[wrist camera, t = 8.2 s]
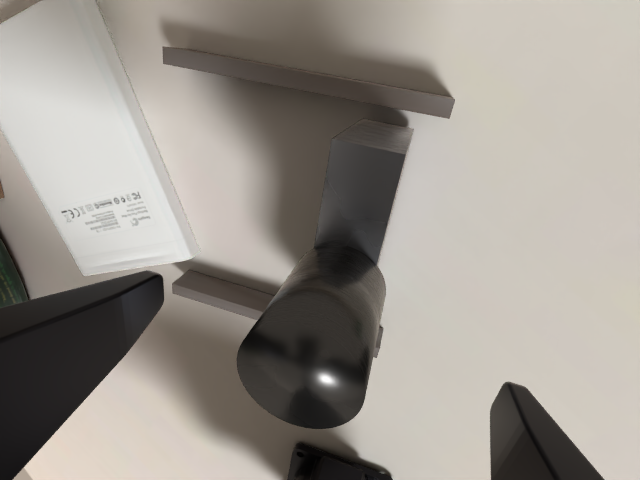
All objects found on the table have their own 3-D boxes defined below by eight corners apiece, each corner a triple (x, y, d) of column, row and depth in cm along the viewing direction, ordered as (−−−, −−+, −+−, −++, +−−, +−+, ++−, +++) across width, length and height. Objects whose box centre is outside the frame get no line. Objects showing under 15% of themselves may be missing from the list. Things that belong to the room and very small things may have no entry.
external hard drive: (102, -9, 16) (206, 248, 20) (-13, 52, 19) (100, 265, 23) (69, -17, 14) (189, 261, 18) (-50, 50, 17) (77, 278, 21)
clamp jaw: (374, 317, 18) (329, 514, 10) (316, 300, 18) (229, 473, 10) (427, 131, 14) (422, 210, 6) (350, 116, 14) (249, 169, 6)
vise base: (380, 337, 18) (372, 381, 16) (-14, 216, 23) (-72, 235, 20) (452, 97, 13) (458, 103, 11) (-77, 1, 18) (-166, -12, 15)
